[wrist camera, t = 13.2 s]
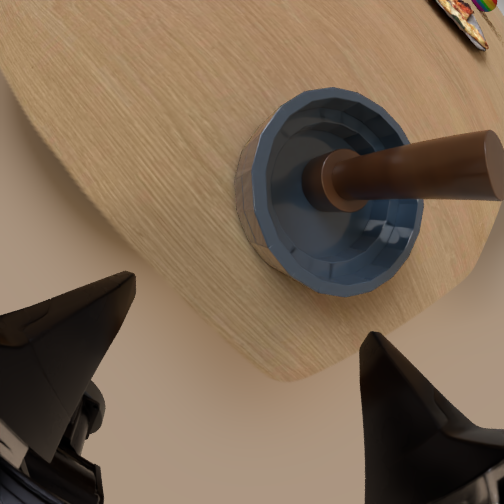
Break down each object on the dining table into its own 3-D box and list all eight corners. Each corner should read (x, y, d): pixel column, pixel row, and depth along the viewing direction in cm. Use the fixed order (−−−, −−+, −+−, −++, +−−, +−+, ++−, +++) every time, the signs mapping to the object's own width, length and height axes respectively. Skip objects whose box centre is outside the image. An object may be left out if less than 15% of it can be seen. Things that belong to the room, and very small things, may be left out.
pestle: (331, 223, 20) (502, 244, 7) (290, 186, 19) (467, 159, 6) (358, 181, 21) (517, 169, 7) (320, 144, 19) (481, 89, 6)
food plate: (472, 18, 27) (481, 15, 23) (487, 73, 28) (499, 70, 24) (399, -50, 19) (408, -56, 16) (403, -15, 20) (415, -23, 17)
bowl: (337, 305, 22) (372, 326, 18) (196, 220, 18) (202, 223, 14) (400, 178, 23) (440, 175, 18) (291, 80, 19) (321, 52, 14)
